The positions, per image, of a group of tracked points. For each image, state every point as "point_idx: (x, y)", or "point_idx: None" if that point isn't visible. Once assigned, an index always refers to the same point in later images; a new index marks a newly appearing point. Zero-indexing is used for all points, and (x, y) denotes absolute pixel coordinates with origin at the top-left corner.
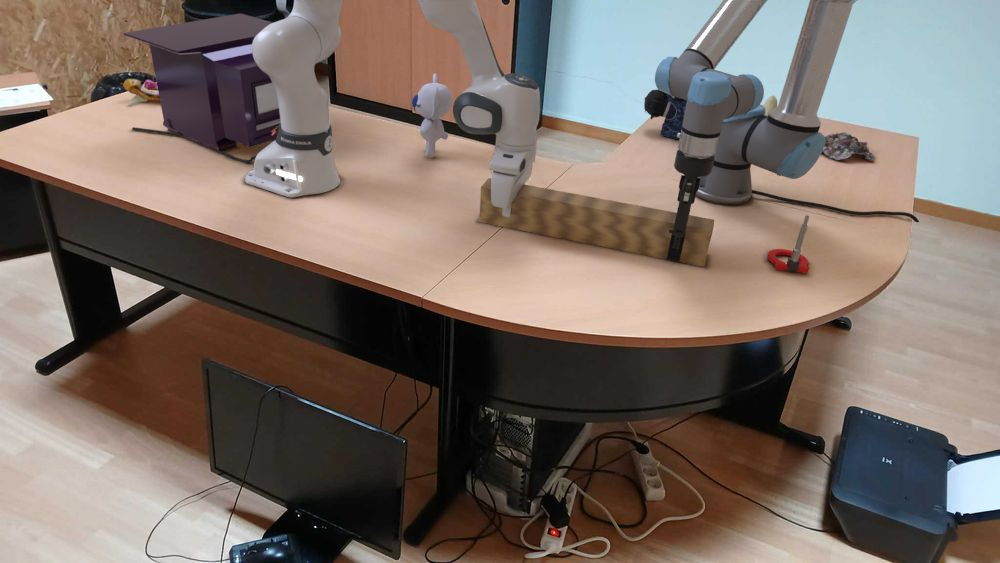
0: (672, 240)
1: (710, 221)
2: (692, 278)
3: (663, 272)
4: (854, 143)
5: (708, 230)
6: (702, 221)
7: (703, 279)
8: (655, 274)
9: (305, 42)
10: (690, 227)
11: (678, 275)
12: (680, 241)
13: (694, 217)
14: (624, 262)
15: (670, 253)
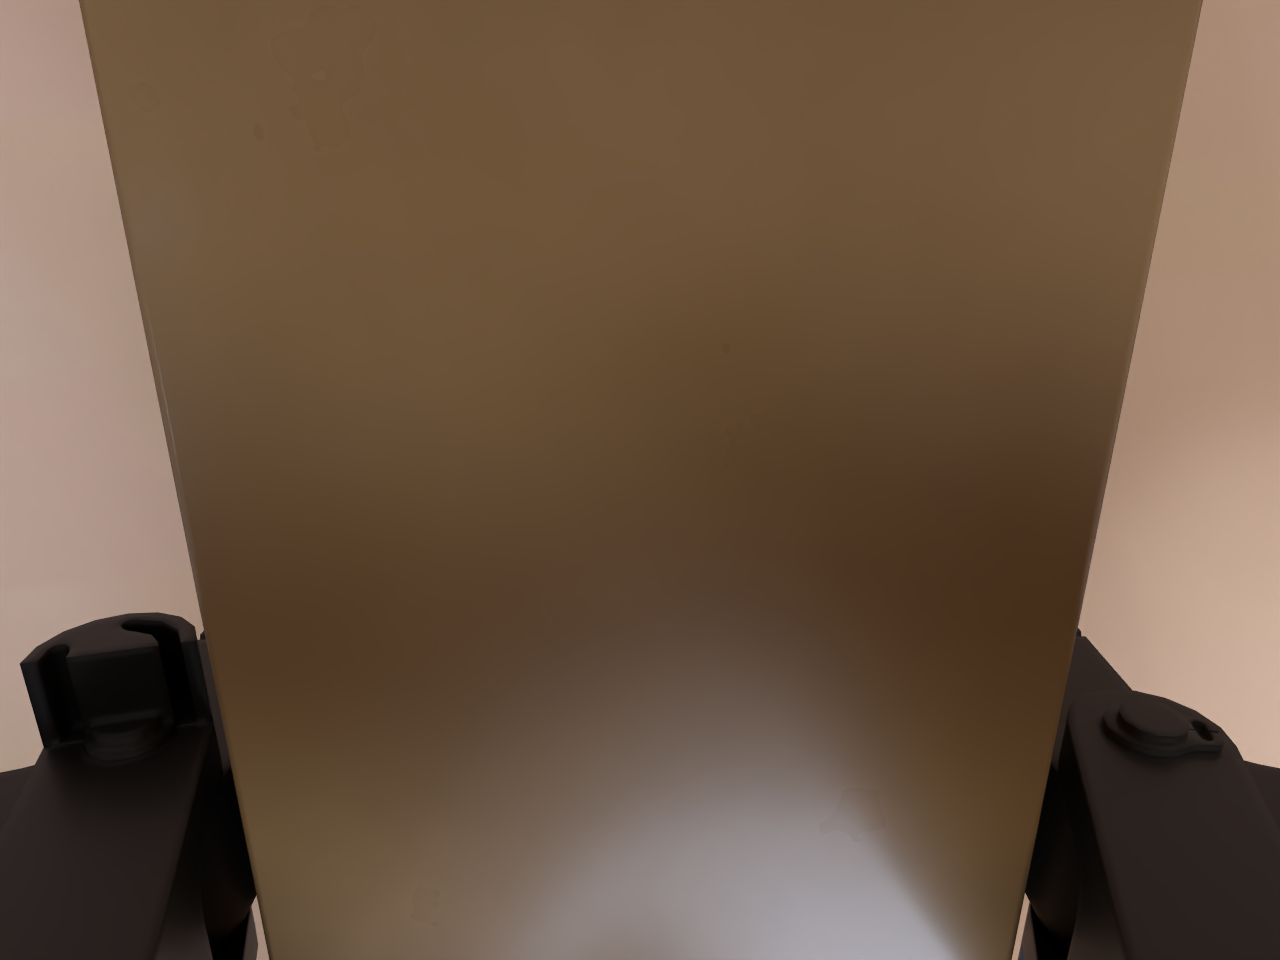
0: None
1: (346, 84)
2: (1227, 201)
3: (1142, 573)
4: None
5: (1168, 110)
6: (520, 400)
7: (1228, 31)
8: (1212, 649)
9: None
10: (1039, 700)
11: (1180, 394)
12: (1105, 661)
13: (337, 672)
14: (1017, 945)
15: None
